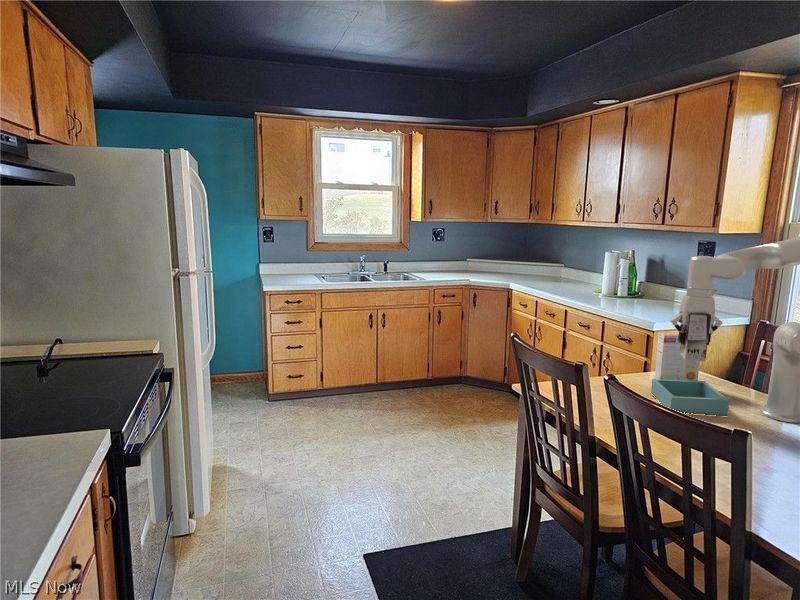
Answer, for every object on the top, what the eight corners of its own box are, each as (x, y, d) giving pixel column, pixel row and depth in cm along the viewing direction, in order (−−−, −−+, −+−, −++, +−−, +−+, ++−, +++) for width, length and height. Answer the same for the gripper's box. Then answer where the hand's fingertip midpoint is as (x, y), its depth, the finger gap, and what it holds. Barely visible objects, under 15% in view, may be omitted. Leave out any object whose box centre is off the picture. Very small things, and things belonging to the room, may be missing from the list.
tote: (702, 396, 181) (704, 381, 180) (727, 417, 163) (729, 400, 162) (650, 394, 183) (652, 378, 182) (669, 414, 166) (671, 397, 165)
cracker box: (690, 382, 195) (695, 331, 191) (697, 387, 190) (703, 335, 186) (653, 381, 197) (658, 330, 193) (659, 386, 191) (664, 334, 187)
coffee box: (706, 362, 165) (712, 315, 162) (684, 360, 167) (689, 314, 164) (699, 354, 173) (704, 309, 170) (678, 352, 175) (683, 308, 172)
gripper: (721, 291, 168) (715, 341, 172) (667, 290, 171) (662, 340, 174) (733, 295, 161) (726, 347, 164) (676, 294, 163) (671, 346, 167)
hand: (693, 343), depth 169 cm, fingers closed on coffee box, 7 cm apart
